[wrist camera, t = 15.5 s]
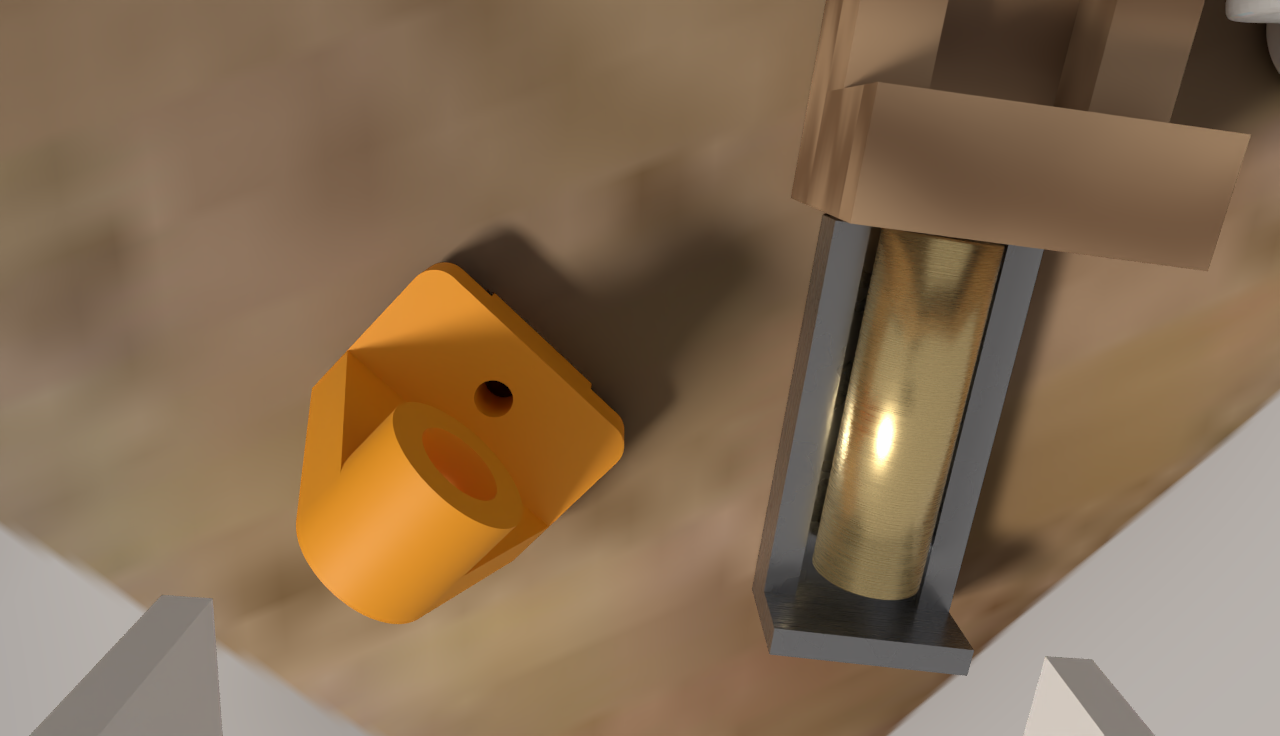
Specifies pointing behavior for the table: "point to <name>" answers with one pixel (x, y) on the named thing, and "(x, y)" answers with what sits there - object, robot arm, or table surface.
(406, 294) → the bracket
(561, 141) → the table surface
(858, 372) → the axle
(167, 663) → the robot arm
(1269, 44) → the cup
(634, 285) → the table surface
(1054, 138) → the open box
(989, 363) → the v block
